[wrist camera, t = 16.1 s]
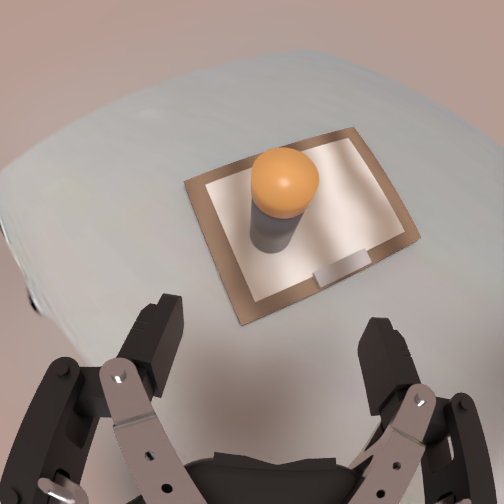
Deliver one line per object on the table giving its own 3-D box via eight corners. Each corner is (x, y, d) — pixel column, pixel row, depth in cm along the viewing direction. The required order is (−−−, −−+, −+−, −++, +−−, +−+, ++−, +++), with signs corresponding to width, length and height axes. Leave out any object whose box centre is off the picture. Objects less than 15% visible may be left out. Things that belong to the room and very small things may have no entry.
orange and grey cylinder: (281, 207, 28) (300, 140, 17) (299, 245, 27) (331, 192, 16) (242, 222, 27) (240, 158, 17) (259, 261, 26) (268, 215, 16)
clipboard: (351, 131, 32) (355, 123, 31) (417, 240, 29) (424, 235, 27) (185, 185, 30) (182, 177, 28) (241, 325, 26) (241, 325, 24)
